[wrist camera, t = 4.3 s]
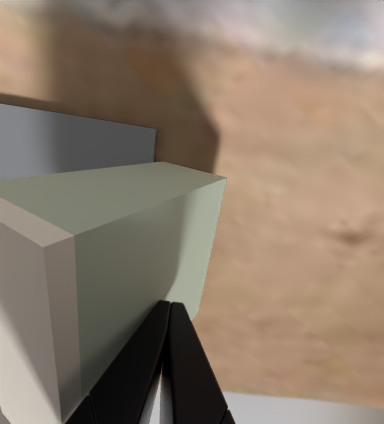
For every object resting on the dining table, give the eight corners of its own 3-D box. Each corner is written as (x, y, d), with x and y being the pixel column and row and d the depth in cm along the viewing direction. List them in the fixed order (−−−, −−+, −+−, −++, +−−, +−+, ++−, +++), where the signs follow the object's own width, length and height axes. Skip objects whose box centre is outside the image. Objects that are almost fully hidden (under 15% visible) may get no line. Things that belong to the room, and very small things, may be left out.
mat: (157, 128, 11) (155, 129, 10) (141, 303, 15) (139, 308, 14) (-58, 93, 10) (-67, 92, 10) (-14, 283, 14) (-20, 287, 14)
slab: (227, 177, 10) (42, 247, 3) (198, 312, 13) (69, 494, 6) (163, 161, 11) (-59, 186, 5) (150, 286, 14) (2, 412, 8)
